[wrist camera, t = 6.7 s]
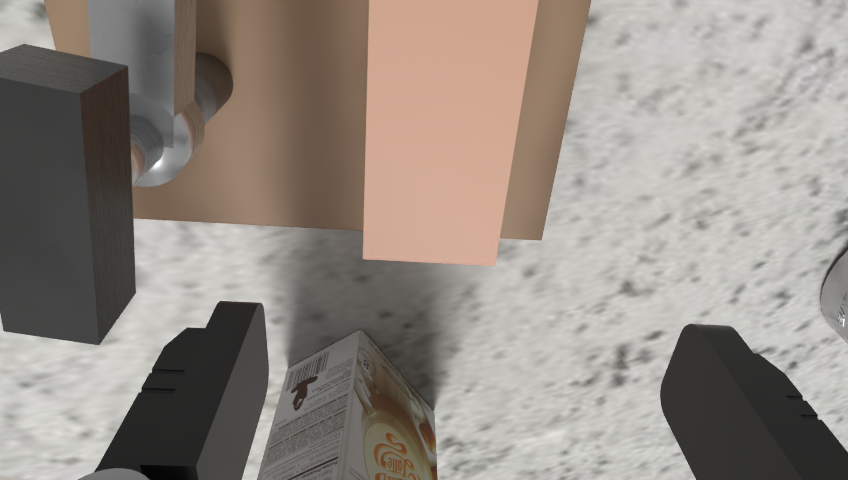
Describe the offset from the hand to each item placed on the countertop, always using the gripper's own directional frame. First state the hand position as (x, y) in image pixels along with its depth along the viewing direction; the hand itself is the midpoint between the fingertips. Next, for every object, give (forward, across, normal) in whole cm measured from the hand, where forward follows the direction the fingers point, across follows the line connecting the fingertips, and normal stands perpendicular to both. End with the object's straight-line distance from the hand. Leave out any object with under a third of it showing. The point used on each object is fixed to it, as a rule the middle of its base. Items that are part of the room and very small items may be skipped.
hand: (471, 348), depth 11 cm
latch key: (+11, +10, -3) cm, 15 cm away
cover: (+16, 0, 0) cm, 17 cm away
